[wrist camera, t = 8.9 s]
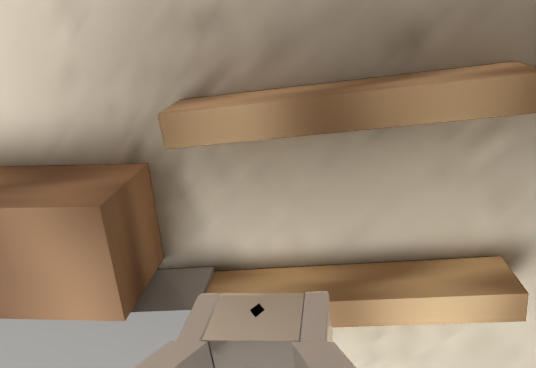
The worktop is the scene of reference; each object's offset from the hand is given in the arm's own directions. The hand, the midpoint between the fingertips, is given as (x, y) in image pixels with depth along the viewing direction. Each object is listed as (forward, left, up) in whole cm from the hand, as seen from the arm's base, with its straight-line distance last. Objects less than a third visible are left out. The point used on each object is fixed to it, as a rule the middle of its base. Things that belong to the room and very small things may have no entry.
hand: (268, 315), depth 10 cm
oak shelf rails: (-2, +1, -8) cm, 8 cm away
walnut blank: (+11, 0, -8) cm, 14 cm away
